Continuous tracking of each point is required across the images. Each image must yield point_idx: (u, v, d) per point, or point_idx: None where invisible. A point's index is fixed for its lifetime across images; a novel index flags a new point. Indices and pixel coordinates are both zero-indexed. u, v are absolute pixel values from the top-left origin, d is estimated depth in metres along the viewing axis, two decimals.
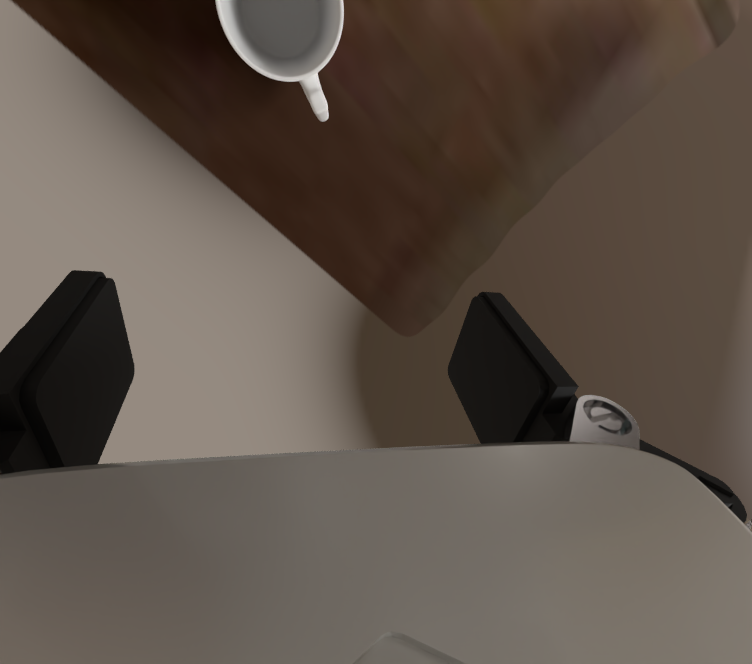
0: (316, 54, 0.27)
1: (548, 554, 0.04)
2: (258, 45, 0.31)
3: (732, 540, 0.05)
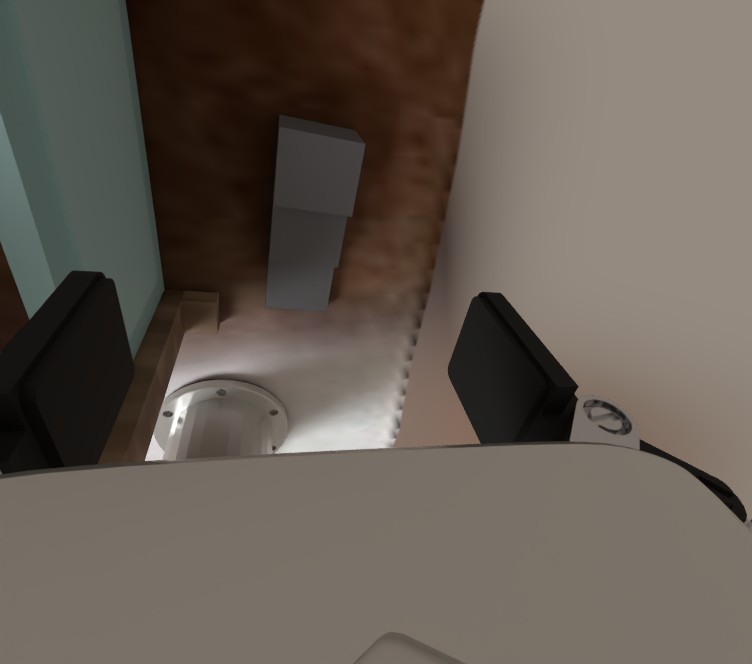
0: None
1: (548, 554, 0.04)
2: None
3: (732, 540, 0.05)
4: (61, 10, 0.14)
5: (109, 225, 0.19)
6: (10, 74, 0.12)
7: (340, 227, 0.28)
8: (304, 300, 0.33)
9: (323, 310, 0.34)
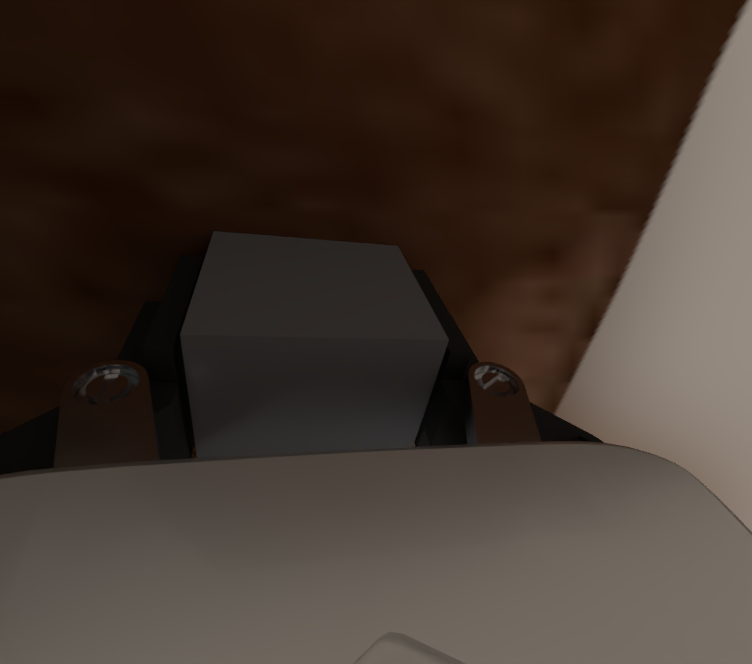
0: None
1: (548, 554, 0.04)
2: None
3: (732, 540, 0.05)
4: None
5: None
6: None
7: None
8: None
9: None
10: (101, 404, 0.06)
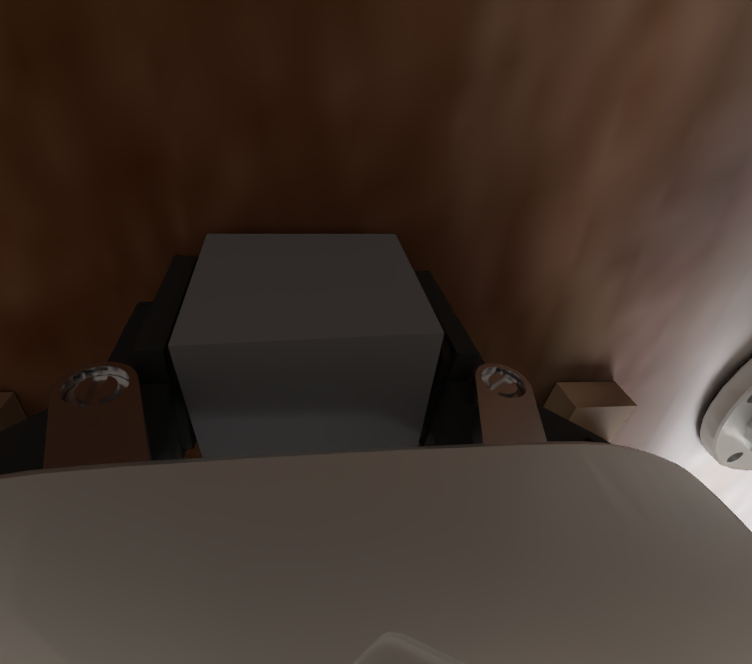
0: None
1: (548, 554, 0.04)
2: None
3: (732, 540, 0.05)
4: None
5: None
6: None
7: None
8: None
9: None
10: (90, 406, 0.06)
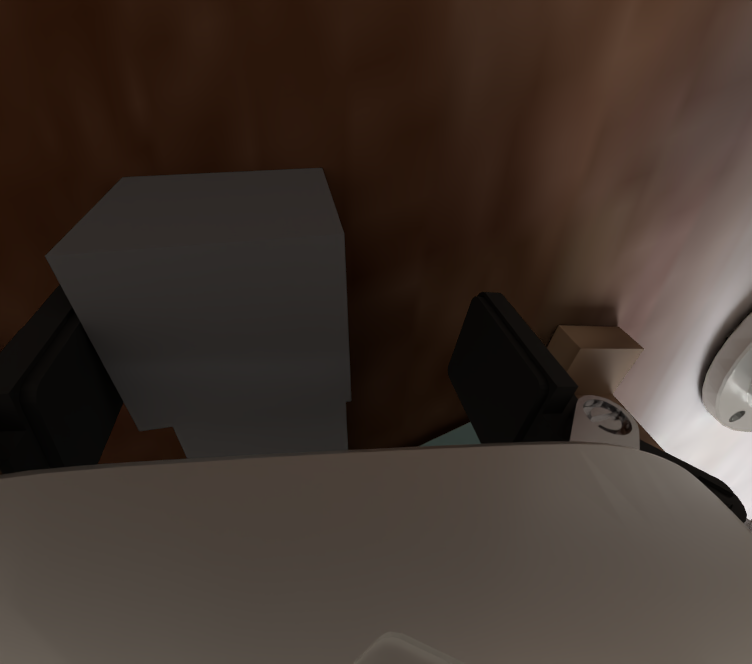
0: None
1: (548, 554, 0.04)
2: None
3: (732, 540, 0.05)
4: None
5: None
6: None
7: None
8: None
9: None
10: None
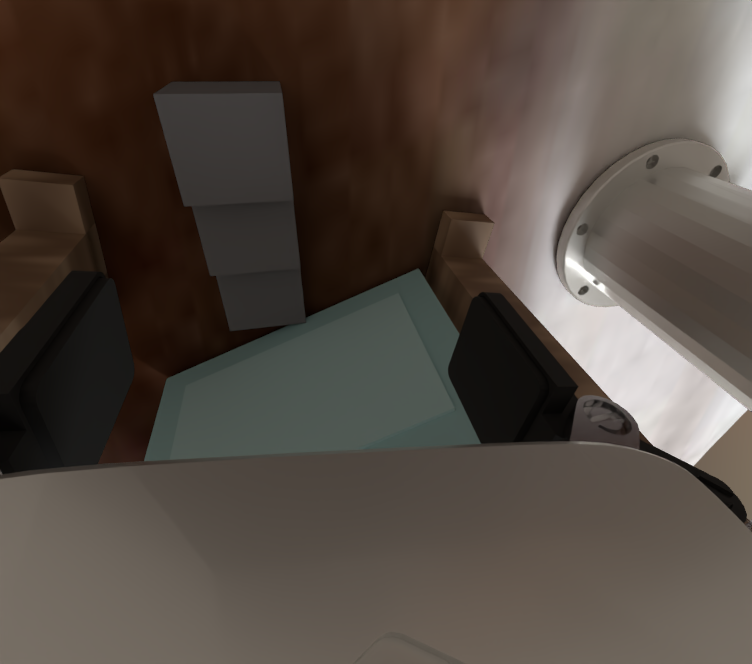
0: None
1: (548, 554, 0.04)
2: None
3: (732, 540, 0.05)
4: None
5: (315, 405, 0.21)
6: None
7: (288, 216, 0.21)
8: (275, 314, 0.27)
9: (302, 321, 0.27)
10: None
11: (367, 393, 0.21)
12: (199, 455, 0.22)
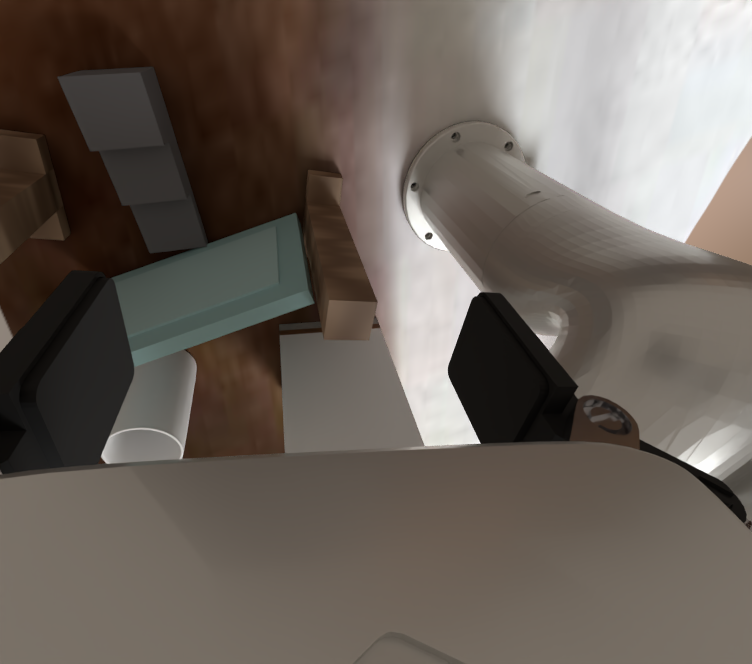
0: (157, 434, 0.42)
1: (548, 554, 0.04)
2: None
3: (732, 540, 0.05)
4: None
5: (197, 286, 0.31)
6: None
7: (169, 160, 0.31)
8: (181, 239, 0.37)
9: (203, 245, 0.37)
10: None
11: (232, 278, 0.31)
12: None
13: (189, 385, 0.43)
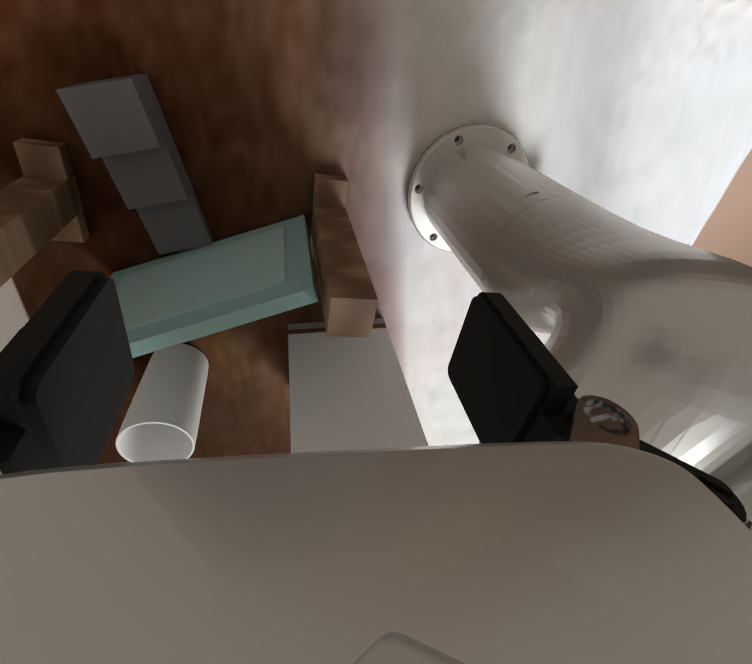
0: (170, 429, 0.44)
1: (548, 554, 0.04)
2: None
3: (732, 540, 0.05)
4: None
5: (206, 281, 0.33)
6: None
7: (167, 162, 0.33)
8: (187, 239, 0.38)
9: (208, 244, 0.39)
10: None
11: (239, 275, 0.32)
12: (124, 306, 0.32)
13: (201, 383, 0.44)
